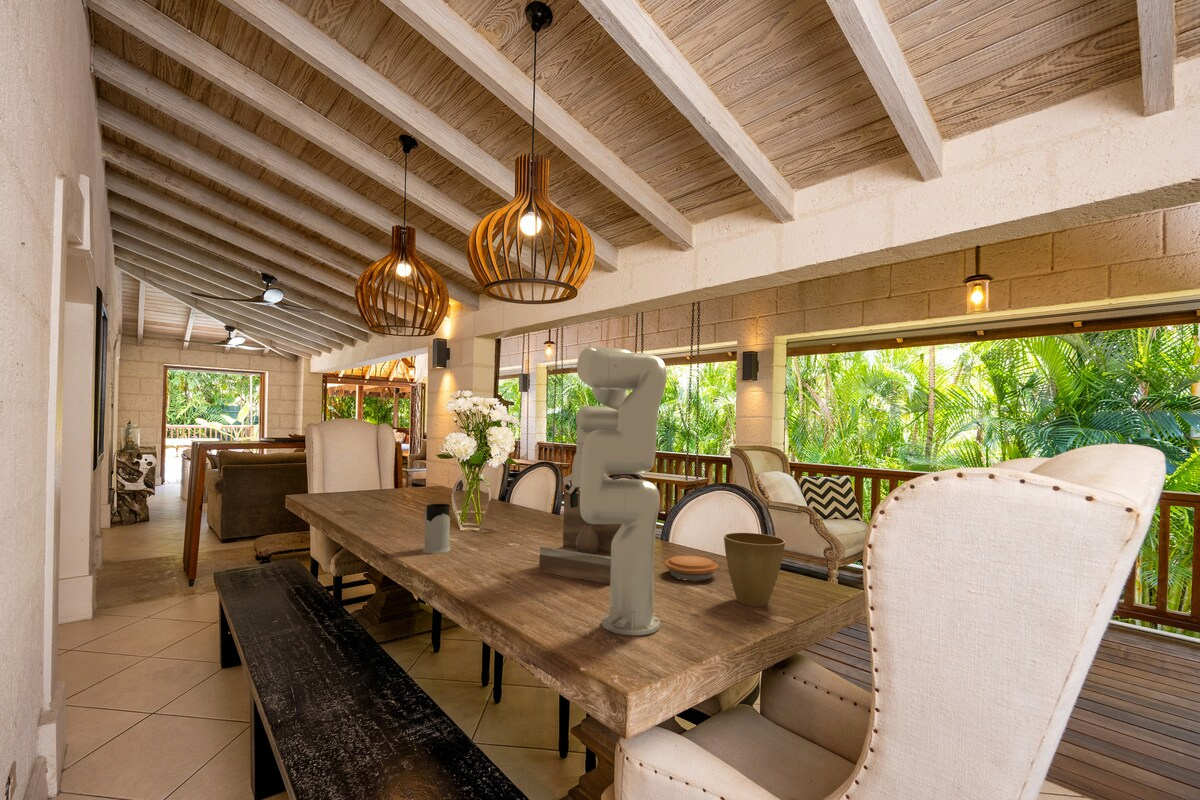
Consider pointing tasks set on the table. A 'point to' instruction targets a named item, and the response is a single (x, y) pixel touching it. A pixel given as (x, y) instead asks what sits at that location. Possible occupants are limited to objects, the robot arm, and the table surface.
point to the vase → (587, 540)
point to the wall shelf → (575, 562)
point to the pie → (691, 567)
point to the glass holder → (437, 528)
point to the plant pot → (753, 565)
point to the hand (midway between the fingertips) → (588, 508)
